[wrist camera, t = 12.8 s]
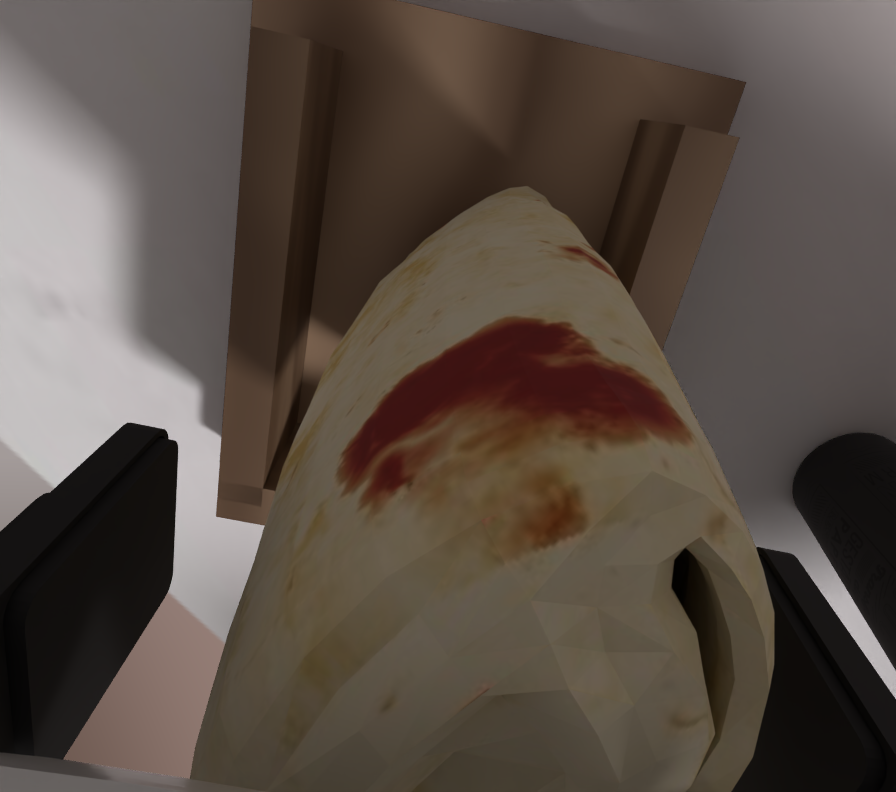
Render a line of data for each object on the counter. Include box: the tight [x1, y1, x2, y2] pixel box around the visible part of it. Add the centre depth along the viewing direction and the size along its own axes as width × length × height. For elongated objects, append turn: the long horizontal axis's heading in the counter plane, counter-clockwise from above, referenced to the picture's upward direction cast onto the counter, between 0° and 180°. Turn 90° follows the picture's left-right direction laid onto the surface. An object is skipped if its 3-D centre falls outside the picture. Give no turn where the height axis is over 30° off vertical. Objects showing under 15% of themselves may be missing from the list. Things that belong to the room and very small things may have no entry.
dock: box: [216, 0, 746, 525], centre depth 23 cm, size 16×18×6 cm
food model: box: [190, 186, 774, 792], centre depth 16 cm, size 10×7×20 cm
